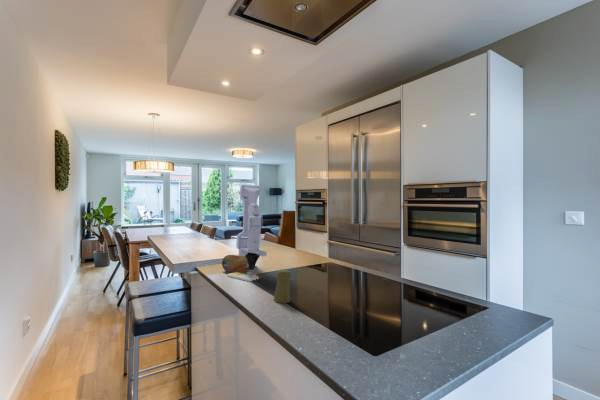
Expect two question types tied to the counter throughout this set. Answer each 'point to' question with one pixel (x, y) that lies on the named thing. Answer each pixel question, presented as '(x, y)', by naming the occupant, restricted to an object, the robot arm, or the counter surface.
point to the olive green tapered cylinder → (283, 287)
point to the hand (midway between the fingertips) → (251, 269)
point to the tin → (235, 264)
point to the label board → (243, 276)
